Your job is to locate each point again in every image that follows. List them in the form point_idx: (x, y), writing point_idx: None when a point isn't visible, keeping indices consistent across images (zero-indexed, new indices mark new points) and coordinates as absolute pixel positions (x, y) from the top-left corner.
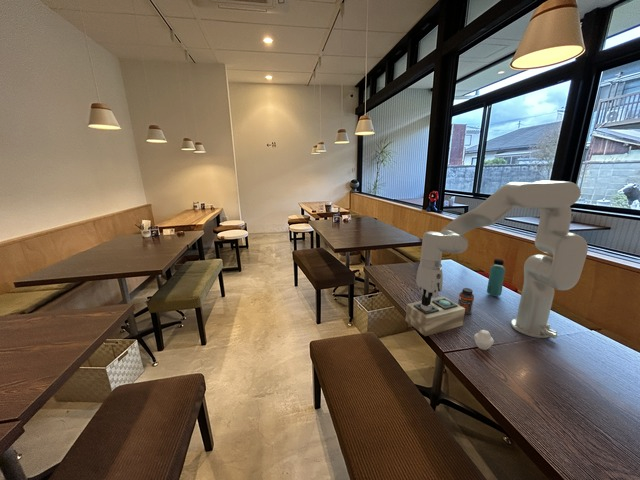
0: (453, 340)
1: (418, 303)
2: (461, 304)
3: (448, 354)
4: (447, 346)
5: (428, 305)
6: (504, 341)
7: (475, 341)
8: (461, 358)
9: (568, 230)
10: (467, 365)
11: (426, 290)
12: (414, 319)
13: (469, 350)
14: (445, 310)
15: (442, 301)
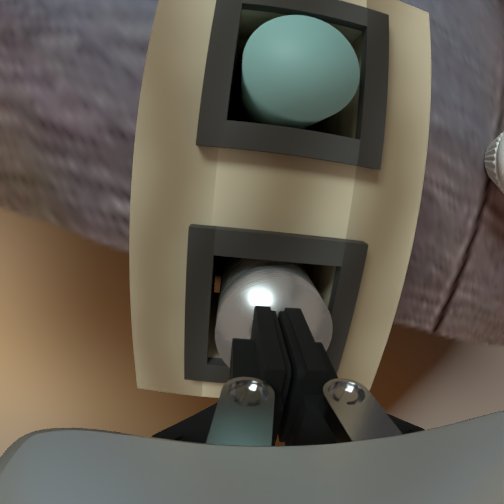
0: (424, 229)
1: (160, 301)
2: None
3: (447, 326)
4: (428, 292)
5: None
6: (500, 53)
7: (499, 188)
8: (479, 300)
9: None
10: (496, 309)
11: (241, 437)
12: None
13: (482, 230)
14: (386, 176)
15: (273, 63)
